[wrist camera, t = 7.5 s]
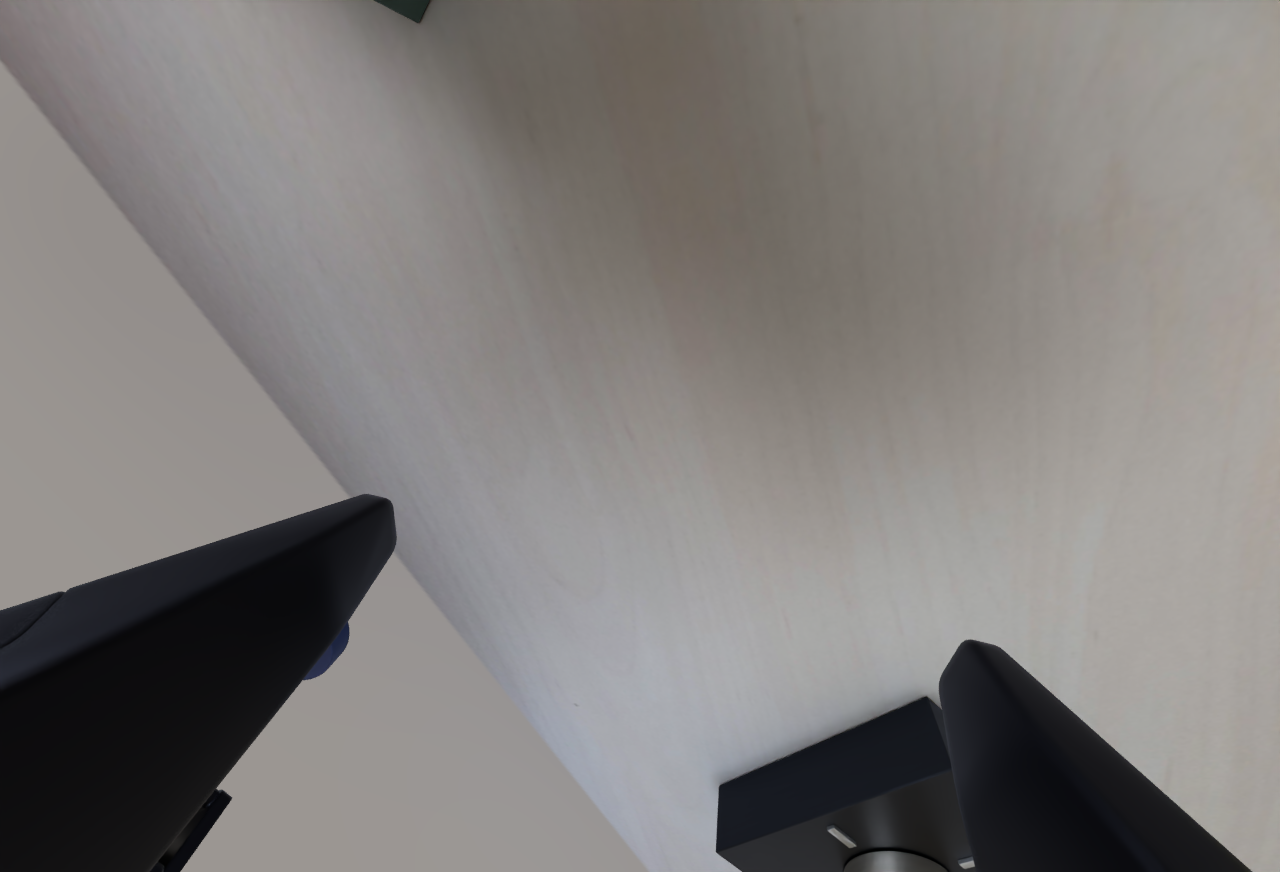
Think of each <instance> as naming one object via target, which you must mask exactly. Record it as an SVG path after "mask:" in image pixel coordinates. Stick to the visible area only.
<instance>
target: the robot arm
mask: <svg viewBox="0 0 1280 872" xmlns="http://www.w3.org/2000/svg"><path fill="white" fill-rule="evenodd" d="M396 540H397V536H396V527H395V518H394V509H393V504H392V503H391V501H390V500H388V499H387V498H383V497H379V496H375V495H371V494H363V495H359V496H356V497H353V498H350V499H347V500H344V501H341V502H338V503H335V504H331V505H328V506H325V507H322V508H319V509H316V510H313V511H310V512H306V513H304V514H300V515H297V516H294V517H291V518H288V519H285V520H282V521H279V522H276V523H272V524H269V525H266V526H263V527H260V528H257V529H254V530H250V531H247V532H244V533H241V534H238V535H235V536H232V537H229V538H225V539H222V540H219V541H216V542H213V543H210V544H207V545H204V546H201V547H197V548H195V549H191V550H188V551H185V552H182V553H179V554H176V555H172V556H169V557H167V558H163V559H160V560H157V561H154V562H151V563H148V564H144V565H141V566H138V567H135V568H132V569H129V570H126V571H123V572H120V573H117V574H113V575H110V576H107V577H104V578H101V579H98V580H95V581H92V582H88V583H85V584H82V585H79V586H76V587H73V588H70V589H69V590H67V591H66V592H57V593H54V594H51V595H48V596H44V597H41V598H38V599H35V600H32V601H29V602H26V603H23V604H20V605H17V606H13V607H10V608H7V609H4V610H0V872H180V871H181V870H182V869H183V867H184V866H185V864H186V863H187V862H188V860H189V859H190V857H191V856H192V854H193V853H194V852H195V850H196V849H197V847H198V846H199V844H200V843H201V842H202V840H203V839H204V838H205V836H206V835H207V833H208V832H209V831H210V829H211V828H212V826H213V825H214V823H215V822H216V821H217V819H218V818H219V816H220V815H221V814H222V812H223V811H224V809H225V808H226V806H227V805H228V804H229V802H230V801H231V799H232V797H231V796H229V795H228V794H227V793H226V792H225V791H223V790H219V791H218V790H217V789H216V788H217V787H218V785H219V784H220V783H221V781H222V780H223V779H224V778H225V777H226V775H227V774H228V773H229V772H230V770H231V769H232V768H233V767H234V765H235V764H236V763H237V762H238V760H239V759H240V758H241V756H242V755H243V754H244V753H245V752H246V750H247V749H248V748H249V747H250V745H251V744H252V743H253V741H254V740H255V739H256V738H257V737H258V735H259V734H260V733H261V732H262V730H263V729H264V728H265V727H266V725H267V724H268V723H269V722H270V720H271V719H272V718H273V717H274V715H275V714H276V713H277V712H278V710H279V709H280V708H281V707H282V705H283V704H284V703H285V701H286V700H287V699H288V698H289V696H290V695H291V694H292V693H293V692H294V690H295V689H296V688H297V687H298V685H299V684H300V683H301V681H302V680H303V679H304V678H305V676H306V675H307V674H308V673H309V671H310V670H311V669H312V668H313V666H314V665H315V664H316V663H317V661H318V660H319V659H320V658H321V656H322V655H323V654H324V653H325V651H326V650H327V649H328V648H329V646H330V645H331V644H332V642H333V641H334V640H335V639H336V637H337V636H338V635H339V633H340V632H341V630H342V629H343V628H344V626H345V625H346V623H347V622H348V620H349V619H350V617H351V616H352V614H353V613H354V611H355V609H356V608H357V607H358V605H359V604H360V602H361V601H362V599H363V598H364V596H365V594H366V593H367V591H368V590H369V588H370V587H371V585H372V584H373V582H374V580H375V579H376V578H377V576H378V575H379V573H380V571H381V570H382V568H383V567H384V565H385V564H386V562H387V560H388V559H389V558H390V556H391V555H392V553H393V551H394V549H395V545H396ZM939 695H940V701H941V707H942V713H943V719H944V725H945V731H946V737H947V743H948V748H949V754H950V760H951V766H952V772H953V778H954V784H955V789H956V794H957V799H958V804H959V808H960V812H961V816H962V820H963V824H964V828H965V832H966V835H967V839H968V843H969V846H970V850H971V854H972V857H973V861H974V865H975V868H976V872H1252V871H1251V870H1250V869H1249V868H1247V867H1246V866H1245V865H1244V864H1243V863H1242V862H1241V861H1240V860H1238V859H1237V858H1236V857H1235V856H1234V855H1233V854H1232V853H1231V852H1229V851H1228V850H1227V849H1226V848H1225V847H1224V846H1223V845H1222V844H1220V843H1219V842H1218V841H1217V840H1216V839H1215V838H1214V837H1213V836H1211V835H1210V834H1209V833H1208V832H1207V831H1206V830H1205V829H1204V828H1203V827H1201V826H1200V825H1199V824H1198V823H1197V822H1196V821H1195V820H1194V819H1192V818H1191V817H1190V816H1189V815H1188V814H1187V813H1186V812H1185V811H1183V810H1182V809H1181V808H1180V807H1179V806H1178V805H1177V804H1176V803H1174V802H1173V801H1172V800H1171V799H1170V798H1169V797H1168V796H1167V795H1165V794H1164V793H1163V792H1162V791H1161V790H1160V789H1159V788H1158V787H1156V786H1155V785H1154V784H1153V783H1152V782H1151V781H1150V780H1149V779H1147V778H1146V777H1145V776H1144V775H1143V774H1142V773H1141V772H1140V771H1138V770H1137V769H1136V768H1135V767H1134V766H1133V765H1132V764H1131V763H1129V762H1128V761H1127V760H1126V759H1125V758H1124V757H1123V756H1122V755H1120V754H1119V753H1118V752H1117V751H1116V750H1115V749H1114V748H1113V747H1111V746H1110V745H1109V744H1108V743H1107V742H1106V741H1105V740H1104V739H1102V738H1101V737H1100V736H1099V735H1098V734H1097V733H1096V732H1095V731H1093V730H1092V729H1091V728H1090V727H1089V726H1088V725H1087V724H1086V723H1084V722H1083V721H1082V720H1081V719H1080V718H1079V717H1078V716H1077V715H1076V714H1074V713H1073V712H1072V711H1071V710H1070V709H1069V708H1068V707H1067V706H1065V705H1064V704H1063V703H1062V702H1061V701H1060V700H1059V699H1058V698H1056V697H1055V696H1054V695H1053V694H1052V693H1051V692H1050V691H1049V690H1047V689H1046V688H1045V687H1044V686H1043V685H1042V684H1041V683H1040V682H1038V681H1037V680H1036V679H1035V678H1034V677H1033V676H1032V675H1031V674H1029V673H1028V672H1027V671H1026V670H1025V669H1024V668H1023V667H1022V666H1020V665H1019V664H1018V663H1017V662H1016V661H1015V660H1014V659H1013V658H1011V657H1010V656H1009V655H1008V654H1007V653H1006V652H1005V651H1004V650H1002V649H1001V648H999V647H998V646H995V645H992V644H988V643H984V642H980V641H976V640H965V641H964V642H962V643H961V644H960V646H959V647H958V649H957V650H956V652H955V654H954V655H953V657H952V658H951V660H950V662H949V663H948V665H947V667H946V668H945V670H944V671H943V673H942V675H941V678H940V681H939Z"/></svg>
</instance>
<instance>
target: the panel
mask: <svg viewBox="0 0 1280 872" xmlns="http://www.w3.org/2000/svg"><path fill="white" fill-rule="evenodd" d="M876 851H899V852H906V853H911V854H915V855H919V856H922V857H924V858H927V859H930V860H932V861H934V862H936V863H937V864H939V865H941V866H942V867H943V868H945V869H946V870H947V871H948V872H976V868H975V865H974V861H973V857H972V854H971V850H970V846H969V843H968V839H967V835H966V832H965V828H964V824H963V820H962V816H961V812H960V808H959V804H958V799H957V794H956V789H955V784H954V778H953V772H952V766H951V760H950V754H949V748H948V743H947V737H946V731H945V725H944V719H943V713H942V710H941V709H940V708H939V707H938V706H936V705H935V704H934V703H933V702H932V701H931V700H930V699H929V698H928V697H925V698H923V699H921V700H918V701H916V702H914V703H911V704H909V705H907V706H904V707H902V708H900V709H897V710H895V711H893V712H890V713H888V714H886V715H883V716H881V717H879V718H876V719H874V720H872V721H869V722H867V723H865V724H862V725H860V726H858V727H855V728H853V729H851V730H848V731H846V732H844V733H841V734H839V735H837V736H834V737H832V738H830V739H827V740H825V741H823V742H820V743H818V744H816V745H813V746H811V747H809V748H807V749H804V750H802V751H800V752H797V753H795V754H793V755H790V756H788V757H786V758H783V759H781V760H779V761H776V762H774V763H772V764H769V765H767V766H765V767H762V768H760V769H758V770H755V771H753V772H751V773H748V774H746V775H744V776H741V777H739V778H737V779H734V780H732V781H730V782H727V783H725V784H723V785H720V786H719V798H718V818H717V839H716V853H718V854H719V855H720V856H722V857H723V858H724V859H726V860H727V861H728V862H730V863H731V864H732V865H734V866H735V867H737V868H738V869H739V870H741V871H742V872H844V869H845V866H846V865H847V863H848V862H849V861H850V860H852V859H853V858H855V857H857V856H859V855H862V854H865V853H870V852H876Z"/></svg>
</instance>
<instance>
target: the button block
mask: <svg viewBox="0 0 1280 872" xmlns="http://www.w3.org/2000/svg"><path fill="white" fill-rule="evenodd" d="M374 1H376V2H378V3H380V4H382V5H384V6H386V7H388V8H389V9H391V10H393V11H395V12H397V13H399V14H401V15H403V16H405V17H407V18H409V19H411V20H413V21H415V22H417V23H419V21H420V19H421V17H422V15H423V13H424V11H425V9H426V6H427V4H428V2H429V0H374Z"/></svg>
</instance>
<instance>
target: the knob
mask: <svg viewBox="0 0 1280 872" xmlns="http://www.w3.org/2000/svg"><path fill="white" fill-rule="evenodd" d="M844 872H948V871H947V870H946V869H945V868H943V867H942V866H941V865H939V864H937V863H936V862H934V861H932V860H930V859H927V858H924V857H922V856H919V855H915V854H911V853H906V852H899V851H876V852H870V853H865V854H862V855H859V856H857V857H855V858H853V859H852V860H850V861H849V862H848V863H847V865H846V866H845V869H844Z"/></svg>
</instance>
